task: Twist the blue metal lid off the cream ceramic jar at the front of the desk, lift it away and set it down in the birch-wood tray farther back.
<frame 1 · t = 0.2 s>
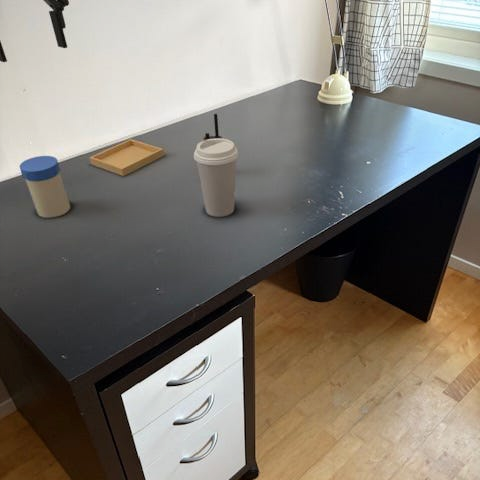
hand: (33, 53, 99), 31 cm above the table, tool pointing down, fingers open, 13 cm apart
coffee cup: (220, 210, 110), on the table
lid: (38, 164, 105), point 11 cm above the table, screwed on, not yet turned
walkie-talkie: (215, 174, 124), on the table
jar: (54, 209, 113), on the table
tray: (127, 160, 132), on the table
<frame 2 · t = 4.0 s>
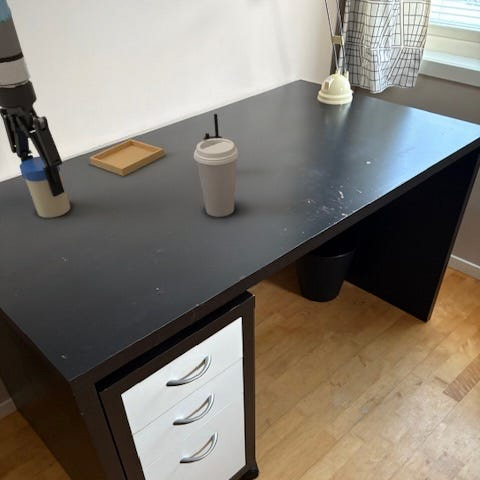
hand: (47, 188, 109), 5 cm above the table, tool pointing down, fingers closed on lid, 8 cm apart
lid: (39, 164, 105), point 11 cm above the table, screwed on, not yet turned, touching gripper
everything else where it was.
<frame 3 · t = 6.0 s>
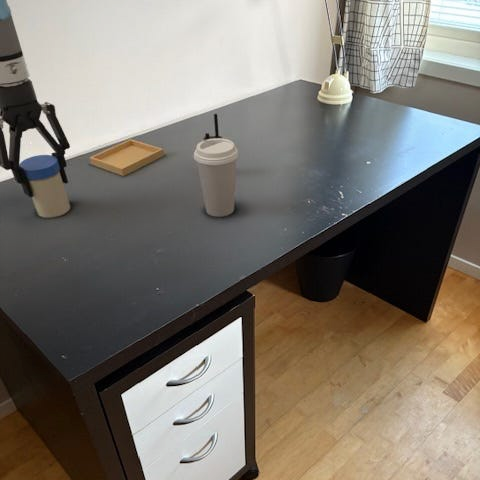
hand: (46, 188, 109), 6 cm above the table, tool pointing down, fingers closed on lid, 8 cm apart
lid: (38, 163, 105), point 11 cm above the table, turned 83° so far, risen 0.2 cm, still on its thread, touching gripper
everything else where it was.
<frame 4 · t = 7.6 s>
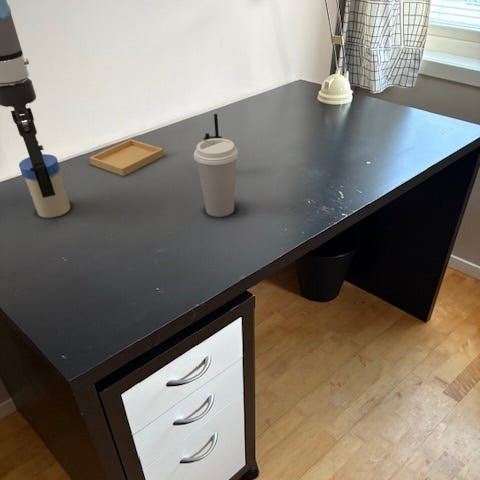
hand: (46, 187, 109), 6 cm above the table, tool pointing down, fingers closed on lid, 8 cm apart
lid: (38, 163, 105), point 11 cm above the table, off its thread, touching gripper
everything else where it was.
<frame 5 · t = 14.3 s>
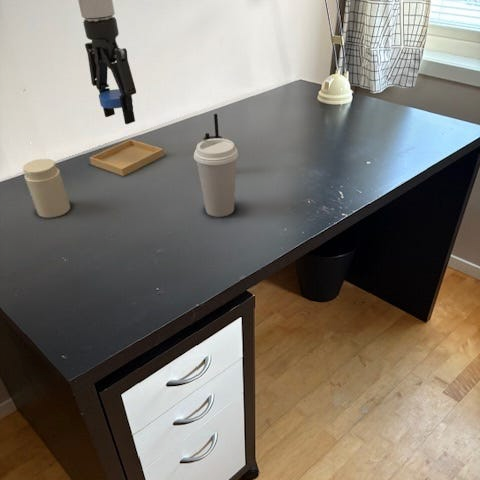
hand: (119, 118, 125), 11 cm above the table, tool pointing down, fingers closed on lid, 8 cm apart
lid: (115, 95, 121), point 17 cm above the table, off its thread, touching gripper
everything else where it was.
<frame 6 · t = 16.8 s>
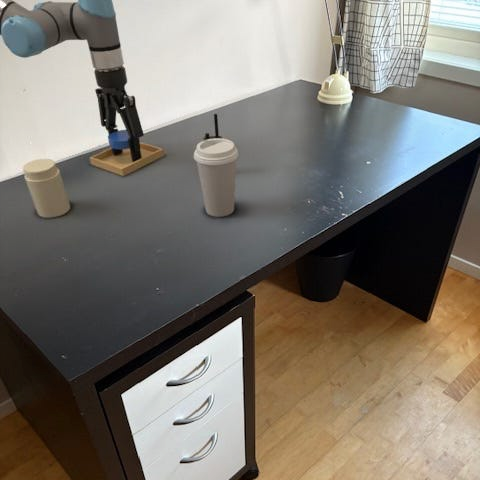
hand: (127, 157, 132), 1 cm above the table, tool pointing down, fingers closed on lid, 8 cm apart
lid: (123, 136, 128), point 7 cm above the table, off its thread, touching gripper
everything else where it was.
when the fingers open (2 cm above the table, at t = 24.9 s): lid drops 6 cm, resting on tray.
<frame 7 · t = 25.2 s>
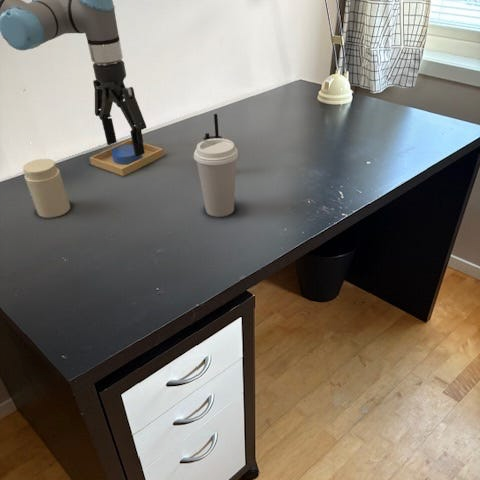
hand: (125, 149, 130), 3 cm above the table, tool pointing down, fingers open, 12 cm apart
lid: (126, 151, 130), point 2 cm above the table, off its thread, touching tray
everything else where it was.
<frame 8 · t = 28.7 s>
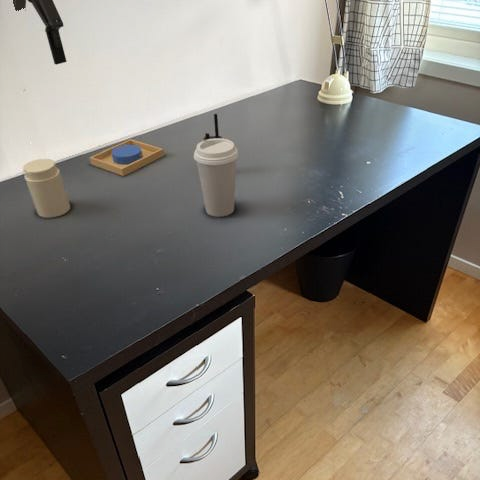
hand: (45, 58, 112), 27 cm above the table, tool pointing down, fingers open, 13 cm apart
nothing on the table moved.
at the end: lid inside the target area in the tray (0.1 cm from its centre), point 2.4 cm above the tray's base; lid point 2.4 cm above the table; the gripper is holding nothing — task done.
